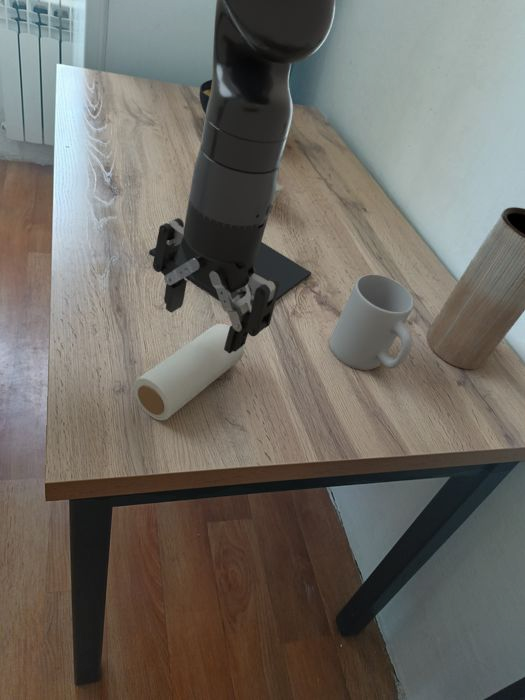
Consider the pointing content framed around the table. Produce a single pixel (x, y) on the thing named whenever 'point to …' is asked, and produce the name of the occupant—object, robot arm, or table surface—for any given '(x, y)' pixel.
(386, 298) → the mug
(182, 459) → the table surface
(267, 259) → the mat
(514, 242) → the planter
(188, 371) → the towel roll
